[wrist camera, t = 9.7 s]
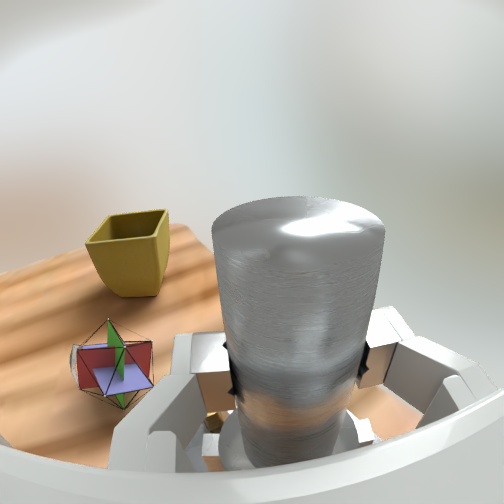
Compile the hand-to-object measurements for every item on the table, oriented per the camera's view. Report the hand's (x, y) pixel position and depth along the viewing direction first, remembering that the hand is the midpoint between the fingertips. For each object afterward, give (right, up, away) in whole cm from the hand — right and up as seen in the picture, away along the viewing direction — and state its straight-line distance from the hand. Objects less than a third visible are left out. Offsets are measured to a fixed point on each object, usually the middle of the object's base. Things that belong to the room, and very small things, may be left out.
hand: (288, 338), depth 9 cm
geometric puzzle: (-12, -10, +15) cm, 22 cm away
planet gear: (0, -7, +2) cm, 7 cm away
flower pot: (-15, -2, +30) cm, 34 cm away
